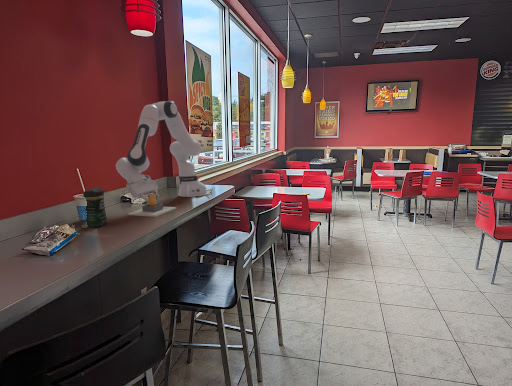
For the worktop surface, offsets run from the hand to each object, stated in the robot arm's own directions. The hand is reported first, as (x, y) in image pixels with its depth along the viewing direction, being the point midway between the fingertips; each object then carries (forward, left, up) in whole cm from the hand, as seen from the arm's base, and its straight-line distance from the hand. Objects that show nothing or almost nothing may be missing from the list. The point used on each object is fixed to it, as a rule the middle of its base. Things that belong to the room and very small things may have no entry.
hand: (152, 198), depth 191 cm
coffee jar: (+28, +18, -8) cm, 34 cm away
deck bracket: (0, 0, -8) cm, 8 cm away
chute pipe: (0, 0, -7) cm, 7 cm away
